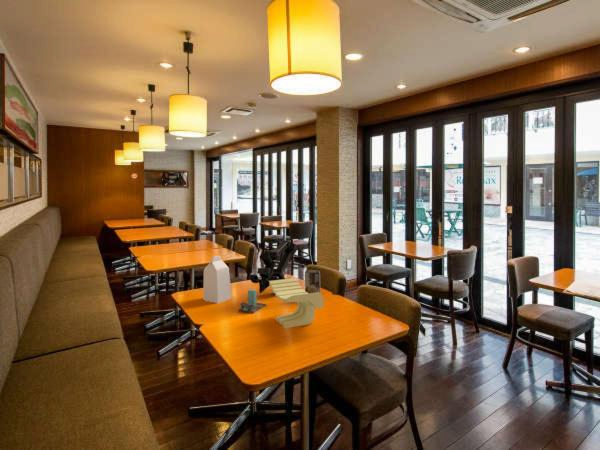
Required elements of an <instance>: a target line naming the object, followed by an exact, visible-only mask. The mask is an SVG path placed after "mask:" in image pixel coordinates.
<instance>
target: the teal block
mask: <svg viewBox="0 0 600 450" xmlns="http://www.w3.org/2000/svg"><path fill="white" fill-rule="evenodd" d="M257 297H258V295H257V289H248V290H247V303H249V304H254V307H256V306H257V303H258V300H257ZM249 309H251V307H248V306H245V308H243V310H245V311H247V310H249Z"/></svg>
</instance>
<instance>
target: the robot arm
mask: <svg viewBox="0 0 600 450" xmlns="http://www.w3.org/2000/svg"><path fill="white" fill-rule="evenodd" d="M297 251H298V246H297V244H296V243H293V242H291V241H290V240H281V242H280V244H278V246H276V247H275V248H274V249H270V250H269V251H268V250H264V252H262V253H261V254H260V255H259V260H260V262H261V263H262V265H264V267H257V274H258V275H257V274H249V276H248V279H249V280H250V283H253V284H258V287H259V289H258V291H259V294H262V293H263V292H264V291H265V290H266V289H267V288H269V287H270V286H269V281H274V280H283V279H286V277H285V273H284V272H285V270H286V268H287V266H288V264H289V261H290V259H291V257H292V256H294V255H296V253H297ZM283 252H284V253H283ZM282 254H283V255H282ZM281 255H282V256H281ZM276 262H279V263H278V264H277V263H276ZM272 293H273V292H272ZM273 295H274V296H275V293H273Z"/></svg>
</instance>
